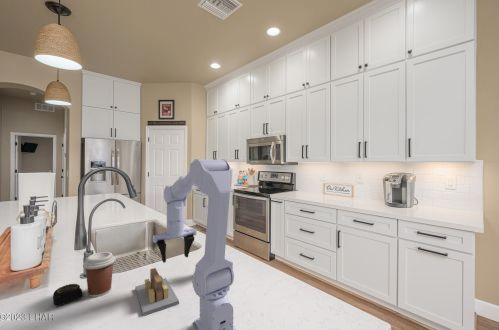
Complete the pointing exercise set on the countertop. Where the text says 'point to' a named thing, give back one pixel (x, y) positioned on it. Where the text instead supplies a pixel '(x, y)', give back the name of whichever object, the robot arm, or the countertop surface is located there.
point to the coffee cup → (99, 273)
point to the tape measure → (67, 294)
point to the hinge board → (148, 299)
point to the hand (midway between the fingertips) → (175, 258)
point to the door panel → (156, 284)
